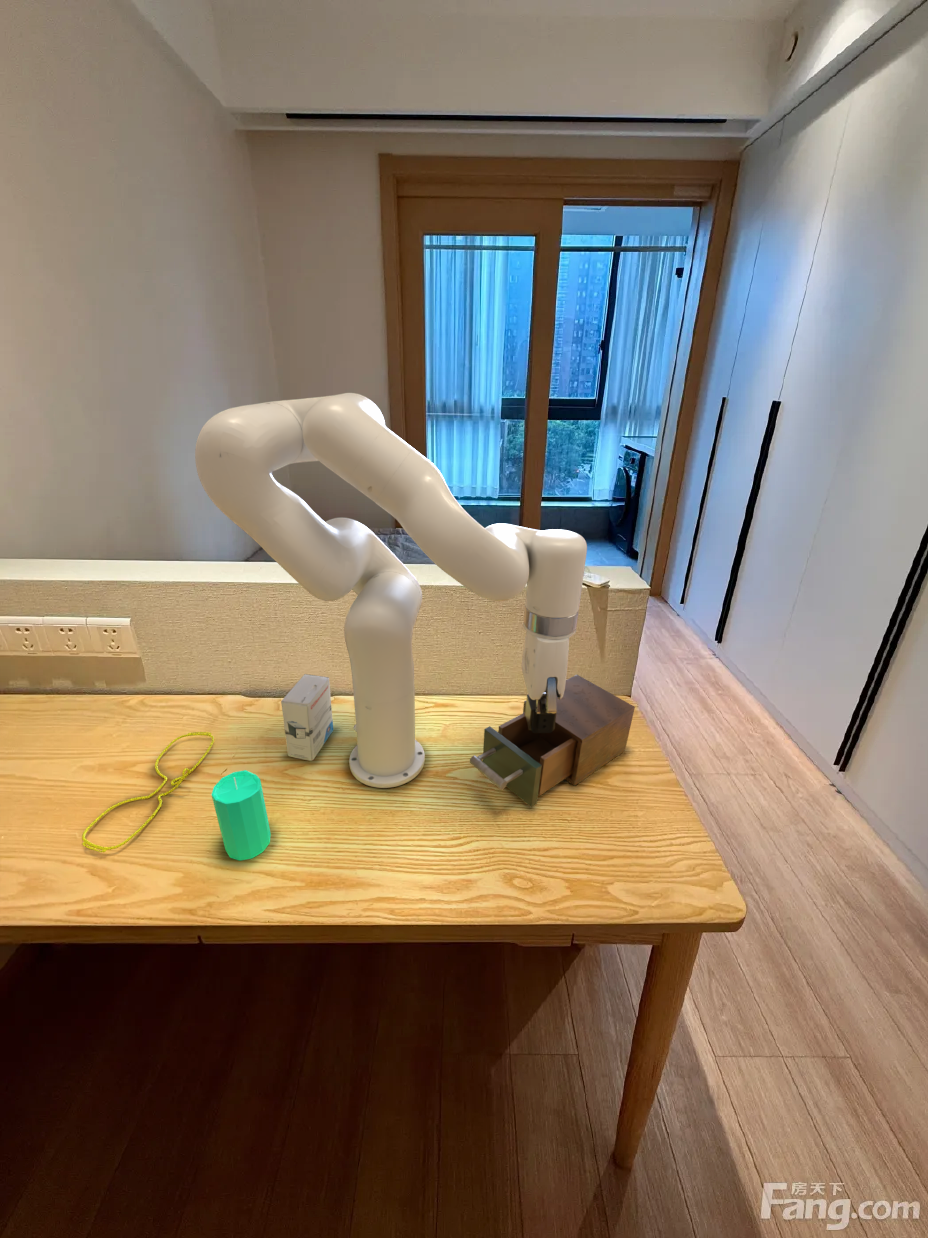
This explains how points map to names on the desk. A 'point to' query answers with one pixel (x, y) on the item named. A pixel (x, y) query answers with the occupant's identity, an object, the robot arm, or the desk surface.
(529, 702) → the block
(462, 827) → the desk surface
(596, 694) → the cabinet
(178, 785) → the yellow rope loop
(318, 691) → the ink box
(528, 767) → the drawer
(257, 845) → the candle
